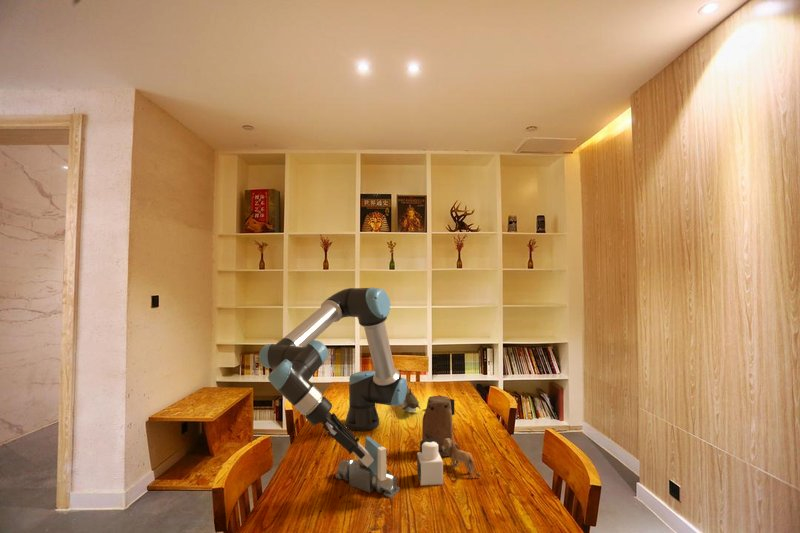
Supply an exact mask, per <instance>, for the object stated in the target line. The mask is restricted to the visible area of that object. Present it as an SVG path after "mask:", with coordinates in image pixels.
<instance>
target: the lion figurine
mask: <svg viewBox="0 0 800 533" xmlns="http://www.w3.org/2000/svg"><path fill="white" fill-rule="evenodd" d="M441 448H442V449H443V451H445V452H446V453H447V454H448V456H447V457H449V458H450V459H451V463H452V464H451V466H450V469H451V470H455V469H456V467H458V466H459V464H460V463H463V465H464V467H465V469H466V471H467V472H468V473H469V475H468V478H469V479H472V478H473V477H474V475H473V473H474V474H475V476H476V477H478V478H481V475H480V474H479V473H477V471H476V468H475V463H474V458H473V455H472V453H471V452H468V451H464V450H462V449H461V448H460V446H459V444H458V443H457V442H456V441H455V440H454V439H453V440H452V439H450V438H446V439H444V444H443V445H442V446H441ZM459 462H460V463H459Z"/></svg>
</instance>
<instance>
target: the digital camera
mask: <svg viewBox="0 0 800 533" xmlns="http://www.w3.org/2000/svg"><path fill="white" fill-rule="evenodd" d="M438 396H440V397H441V396H442V395H438ZM448 398H449V399H450V402H451V410H452V416H454V415H455V413H456V412H455V399H452V398H450V397H448Z"/></svg>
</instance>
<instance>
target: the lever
mask: <svg viewBox="0 0 800 533" xmlns="http://www.w3.org/2000/svg"><path fill="white" fill-rule="evenodd" d="M364 441H365V442H364V443H365V444H364V445H365V447H364V448H365V449H366V450H367V451H368V452H369V453H370V454H371V455H372V456H373V458H374V461H373V462H372V463H371V464H370V465H369V466H368V467H369V468H370V469H371V470H372V471H373V472H374V473H375V474H376V476H377V477H378V479H379V480H380V481H382V480H386V470H387V448H386V447H384V446H382V445H381V444H379V443H378V442H377V441H376V440H374V439H373V438H372V437H371V436H366V437H365V440H364ZM359 464H360V465H361V466H365V465H364V464H363V463H362V462H361V461H360V460H359Z"/></svg>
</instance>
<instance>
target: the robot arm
mask: <svg viewBox="0 0 800 533" xmlns="http://www.w3.org/2000/svg"><path fill="white" fill-rule="evenodd" d="M390 312H391V300H390V296H389V295H388V293H387V291H386V290H384V289H383V288H380V287H359V288H357V287H355V288H354V287H349V288H344V289H341V290H340V291H337V292H336V293H334V294H332V295H331V296H330V297H328V298H327V299H325V300H324V301H323V302H322V303H321V304H320V307H319V308H318V309H317V310H316V311H315V312H313V313H312V314H311V315H310V316H308V317H307V318H306V319H304V320H303V321H302V322H301V323H300V324H299V325H298V326H296V327H295V328H293V330H291V331H290V332H289V333H287V334H286V335H285V336H284V337H283V338H282V339H280V340H279V341H278V342H276V343H275V344H274V343H270V344H265V345H264V346H262V348H261V349H260V351H259V353H258V354H259V355H258V360H259V363H260V365H261V366H262V367H264V368H267V369H268V368H269V369H271V370H272V371H271V372H270V373H269V374H268V377H267V379H268V382H269V383H270V384H271V385H272V386H273V387H274V388H275V390H276V391H278V392H279V393H280V394H281V395H282V396H283V397H284V398H285V399H286V401H288V402H289V403H290V404H291V405H292V406H294V410H295V412H297V411H298V412H299V413H300V414H301V415H302V416H304V417H305V419H306V420H307V421H308V422H309V423H310V424H311V425H312V426H317V425H319V423H321V424H322V425H323V426H322V428H323V429H324V430H325V431H326V432H327V435H328V436H329V437H331V438H333V439H334V440H335V441H336V442H337V443H338V444H339V445H341V446H342V447H343V448H344V449H345V450H346V451H348V455H352V454H353V455H354V456H355V457H356V458H357V460H358V459H359V460H360V461H361V462H362V463H363V464H364V465H365V466H366V467H367V468H368V466H369V465H370V464H371V463H372V462H373V461H374V458H373V456H372V455H371V454H370V453H369V452H368V451H367V450H366V449H365V447H364V446H363V445H362V444H361V443H360V442H359V441H360V438H359V437H356V436H355V435H354V434H353V433H352V432H351V431H354V430H356V431H358V432H364V431H365V430H366V431H370V430H374V429H376V428H378V427H379V426H380V417H379V414H378V411H377V407H376V404H378V405H384V406H385V405H386V406H391V407H394V406H395V407H400V406H402V403H403V401H404V399H405V397H406V393H407V386H408V381H407V379H406V378H404V377H401V374H400V371H399V369H397V368H396V367H395V364H394V363H395V362H394V360H393V354H392V350H391V345H390V341H389V340H390V339H389V336H388V331H387V326H386V323H385V322H386V320H387V319H388V316H389V315H390ZM349 317H350V318H357V320H358V323H359V325H360V326H361V327H363V328H364V332H365V337H366V341H367V345H368V350H369V353H370V357H371V361H372V365H373V370H362V371H357V372H354V373H351V374H350V376H349V382H348V387H349V388H348V395H349V396H348V397H349V401H348V402H349V407H348V411H347V414H346V417H345V422H344V423H345V424H344V423H343V422H342V421H341V420H340V418H338V415H336V414H335V413H331V412H330V411H331V410H332V407H333V404H332V403H331V402H330V400H328V399H327V397H326V396H323V393H322V392H321V391H320V390H319V389H318V387H316V386H315V385H314V384H313V383H312V382H311V381H310V379H311V378H312V377H313V376H314V375H315V374H316V373H317V371H318V370H319V369H320V367H321V366H323V364H324V363H325V361H326V359H327V358H328V356H329V350H328V348H327V346H326V345H325V344H324V343H323V342H321V341H320V340H317V338H318V337H319V336H320V335H321V334H323V332H324V331H326V330H327V329H329V327H330V326H331V325H333V323H338V322H339V321H340V320H341V319H344V318H349ZM346 427H347V428H346ZM348 428H349V429H348ZM350 429H351V431H350Z"/></svg>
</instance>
